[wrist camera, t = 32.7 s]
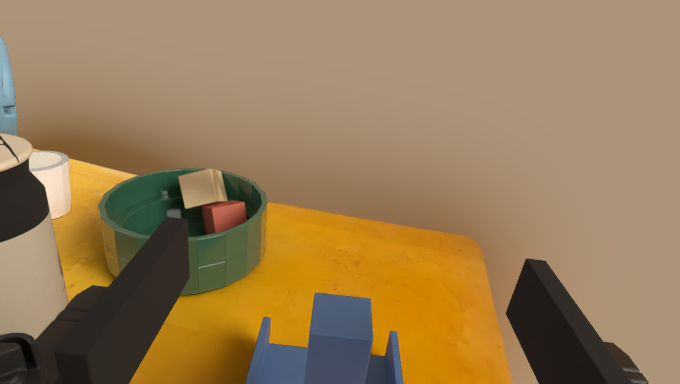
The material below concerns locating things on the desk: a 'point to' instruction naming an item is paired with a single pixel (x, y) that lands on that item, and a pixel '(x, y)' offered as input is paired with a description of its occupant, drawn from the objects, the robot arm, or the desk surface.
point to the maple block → (202, 188)
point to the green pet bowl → (167, 201)
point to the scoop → (328, 349)
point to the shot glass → (53, 179)
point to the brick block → (223, 216)
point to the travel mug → (26, 246)
